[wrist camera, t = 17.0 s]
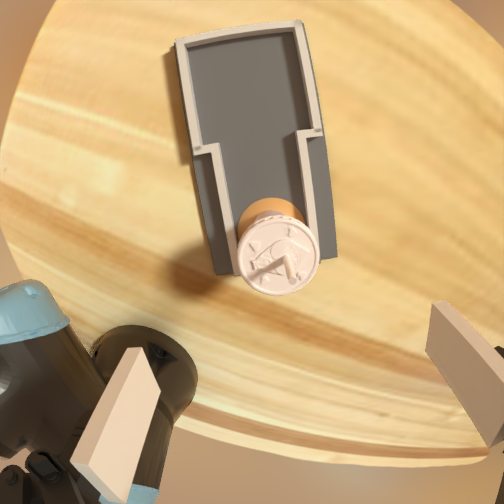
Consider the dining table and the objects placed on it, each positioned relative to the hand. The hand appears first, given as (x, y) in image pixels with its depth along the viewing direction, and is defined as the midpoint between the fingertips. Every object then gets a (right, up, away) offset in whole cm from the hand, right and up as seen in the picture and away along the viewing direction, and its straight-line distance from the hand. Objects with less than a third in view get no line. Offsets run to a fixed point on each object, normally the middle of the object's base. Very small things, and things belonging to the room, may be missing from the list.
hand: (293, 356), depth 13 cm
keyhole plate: (-1, +15, +18) cm, 24 cm away
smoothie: (0, +7, +20) cm, 22 cm away
